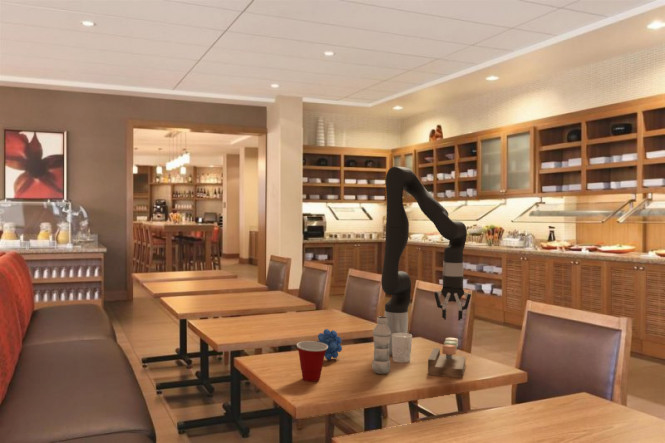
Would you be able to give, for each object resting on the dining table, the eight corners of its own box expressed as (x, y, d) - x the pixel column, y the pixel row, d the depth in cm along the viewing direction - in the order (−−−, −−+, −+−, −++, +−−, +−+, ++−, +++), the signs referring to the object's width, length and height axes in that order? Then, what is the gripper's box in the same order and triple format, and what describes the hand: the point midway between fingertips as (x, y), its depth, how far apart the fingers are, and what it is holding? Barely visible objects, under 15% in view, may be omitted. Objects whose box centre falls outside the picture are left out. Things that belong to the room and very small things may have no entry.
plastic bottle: (392, 371, 208) (393, 316, 207) (387, 376, 201) (388, 319, 201) (374, 369, 210) (375, 315, 209) (369, 374, 203) (370, 318, 203)
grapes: (322, 364, 216) (322, 332, 216) (312, 360, 222) (313, 329, 221) (347, 360, 222) (348, 329, 222) (338, 356, 228) (338, 326, 228)
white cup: (410, 363, 219) (411, 337, 219) (390, 362, 220) (390, 336, 220) (412, 358, 227) (412, 333, 226) (392, 357, 228) (392, 332, 228)
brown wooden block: (427, 374, 205) (428, 359, 205) (433, 361, 222) (433, 347, 222) (462, 377, 202) (462, 362, 201) (465, 364, 219) (465, 350, 219)
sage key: (443, 355, 210) (443, 343, 210) (444, 352, 214) (444, 340, 214) (456, 356, 209) (456, 344, 209) (457, 353, 213) (457, 341, 213)
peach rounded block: (441, 359, 204) (442, 347, 204) (442, 356, 209) (443, 344, 208) (455, 360, 203) (455, 348, 203) (455, 357, 207) (456, 345, 207)
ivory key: (444, 351, 216) (445, 339, 216) (445, 348, 220) (446, 337, 220) (457, 352, 214) (457, 340, 214) (458, 349, 219) (458, 338, 219)
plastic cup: (316, 386, 189) (316, 349, 189) (289, 380, 195) (290, 345, 195) (333, 378, 198) (334, 343, 198) (307, 373, 204) (308, 339, 204)
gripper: (473, 274, 218) (472, 319, 219) (434, 272, 222) (433, 316, 223) (472, 276, 211) (471, 323, 211) (432, 274, 215) (431, 320, 215)
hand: (452, 319), depth 217 cm, fingers open, 4 cm apart
